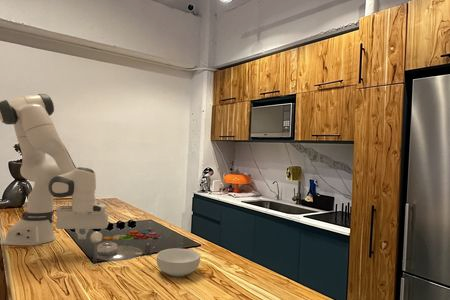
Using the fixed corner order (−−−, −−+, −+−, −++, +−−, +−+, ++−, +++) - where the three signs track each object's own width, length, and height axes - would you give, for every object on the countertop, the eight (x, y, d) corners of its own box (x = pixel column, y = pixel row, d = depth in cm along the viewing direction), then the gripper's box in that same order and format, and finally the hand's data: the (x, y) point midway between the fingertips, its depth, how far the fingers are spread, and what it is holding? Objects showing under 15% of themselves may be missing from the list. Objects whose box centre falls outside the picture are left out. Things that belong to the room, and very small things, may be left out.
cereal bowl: (180, 285, 111) (181, 265, 111) (146, 274, 120) (147, 255, 120) (207, 271, 125) (208, 253, 125) (175, 262, 134) (176, 245, 134)
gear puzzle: (104, 248, 149) (104, 239, 149) (93, 239, 161) (93, 231, 161) (162, 239, 169) (163, 231, 169) (149, 232, 181) (149, 225, 181)
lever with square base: (87, 268, 122) (89, 233, 122) (89, 263, 127) (91, 229, 127) (100, 268, 123) (101, 233, 123) (101, 263, 128) (103, 229, 128)
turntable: (91, 264, 125) (91, 250, 125) (97, 249, 145) (98, 236, 145) (151, 262, 132) (152, 248, 132) (149, 247, 151) (150, 235, 151)
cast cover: (95, 256, 131) (96, 245, 131) (98, 250, 139) (98, 239, 139) (116, 255, 134) (116, 244, 134) (117, 249, 141) (117, 239, 141)
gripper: (54, 207, 127) (52, 241, 127) (107, 207, 132) (106, 240, 132) (58, 204, 133) (57, 237, 133) (109, 205, 138) (108, 236, 138)
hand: (81, 239), depth 133 cm, fingers closed
